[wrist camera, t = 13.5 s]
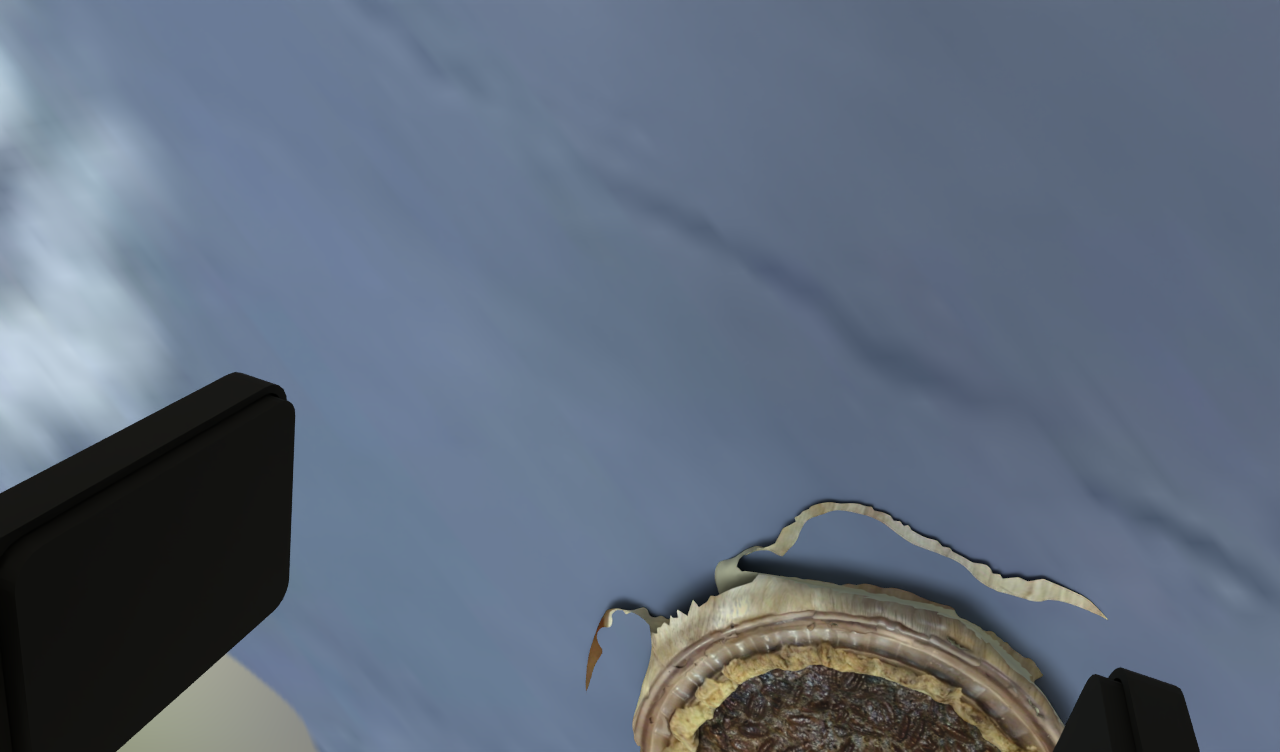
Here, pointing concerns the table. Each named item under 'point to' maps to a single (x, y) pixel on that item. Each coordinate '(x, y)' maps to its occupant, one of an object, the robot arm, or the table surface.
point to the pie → (838, 666)
